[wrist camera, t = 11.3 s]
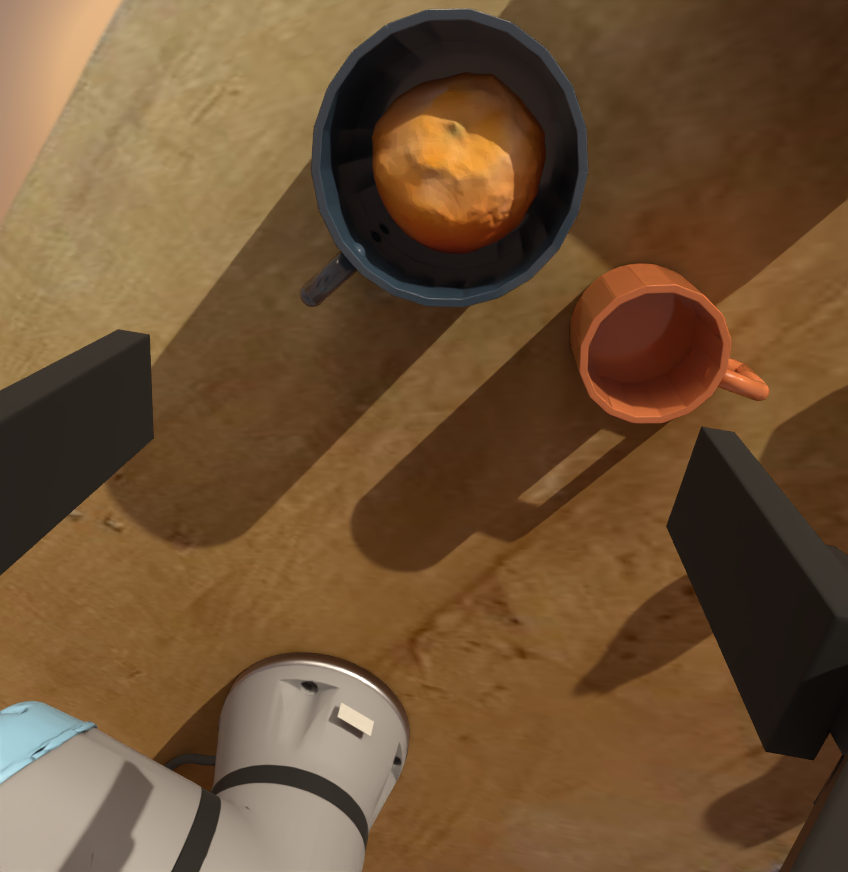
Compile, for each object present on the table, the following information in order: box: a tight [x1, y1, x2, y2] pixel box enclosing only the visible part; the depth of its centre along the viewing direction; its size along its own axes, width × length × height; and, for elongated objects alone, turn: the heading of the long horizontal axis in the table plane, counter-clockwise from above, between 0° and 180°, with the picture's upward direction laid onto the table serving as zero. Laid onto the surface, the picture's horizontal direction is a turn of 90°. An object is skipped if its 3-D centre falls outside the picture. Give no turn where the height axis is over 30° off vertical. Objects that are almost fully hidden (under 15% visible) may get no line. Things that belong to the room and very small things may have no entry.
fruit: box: [372, 72, 546, 254], centre depth 32 cm, size 8×8×8 cm
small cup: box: [570, 263, 769, 423], centre depth 35 cm, size 10×7×6 cm
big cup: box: [300, 8, 588, 307], centre depth 32 cm, size 15×12×8 cm
